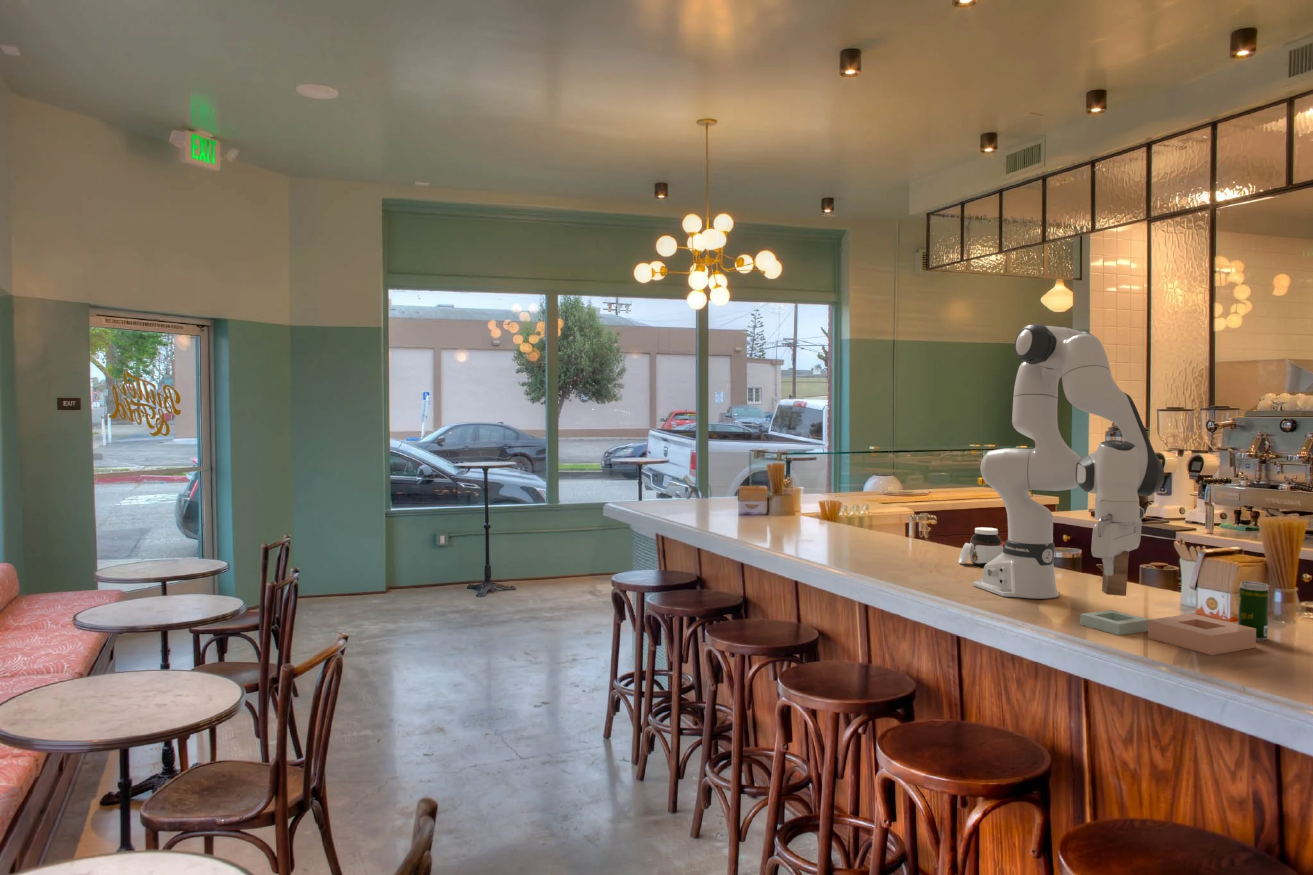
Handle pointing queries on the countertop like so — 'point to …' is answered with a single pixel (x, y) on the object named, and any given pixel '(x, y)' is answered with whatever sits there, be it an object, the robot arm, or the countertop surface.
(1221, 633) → the socket block
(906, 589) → the countertop surface
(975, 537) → the spread jar
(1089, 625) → the green square frame
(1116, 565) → the plug
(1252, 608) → the beer can
